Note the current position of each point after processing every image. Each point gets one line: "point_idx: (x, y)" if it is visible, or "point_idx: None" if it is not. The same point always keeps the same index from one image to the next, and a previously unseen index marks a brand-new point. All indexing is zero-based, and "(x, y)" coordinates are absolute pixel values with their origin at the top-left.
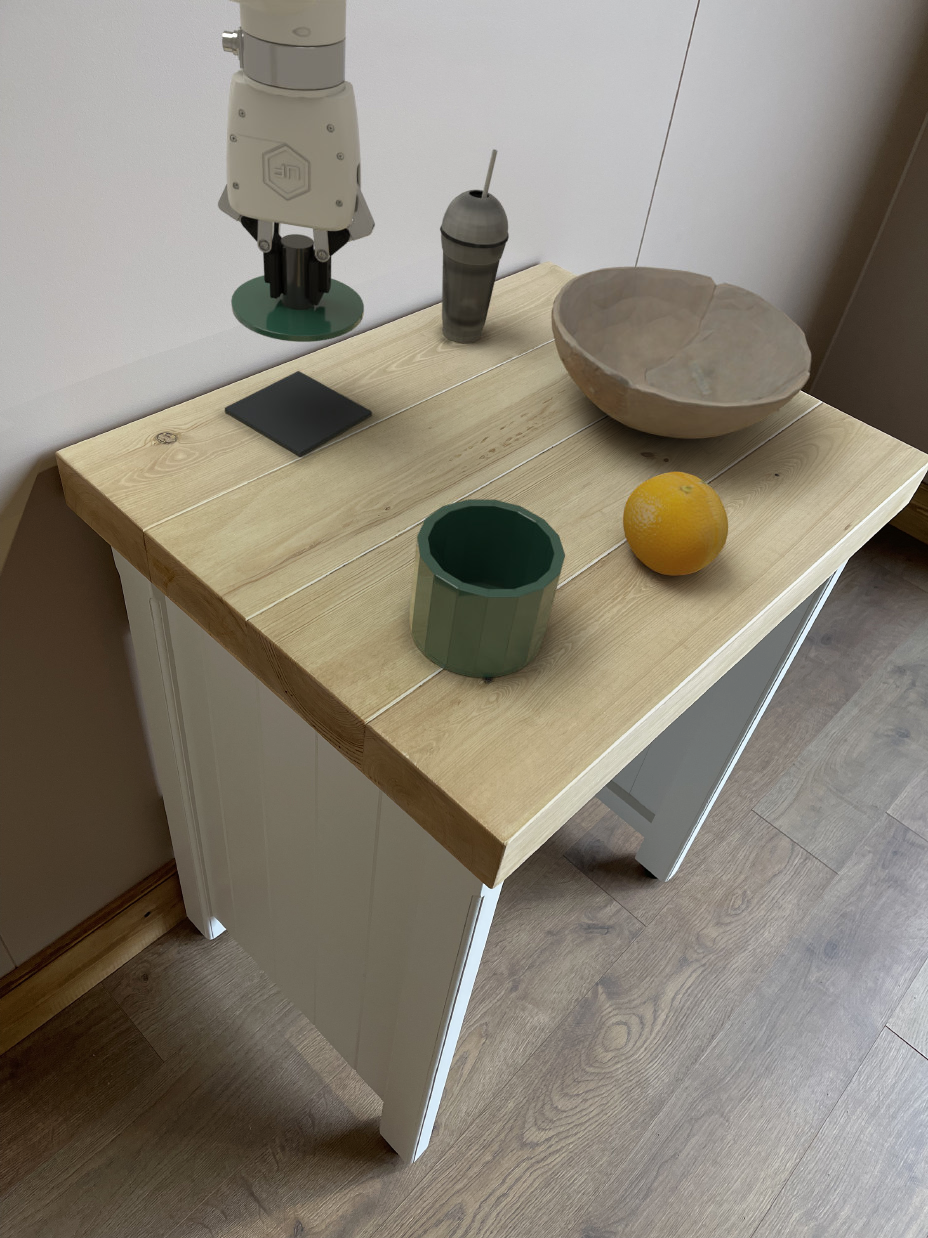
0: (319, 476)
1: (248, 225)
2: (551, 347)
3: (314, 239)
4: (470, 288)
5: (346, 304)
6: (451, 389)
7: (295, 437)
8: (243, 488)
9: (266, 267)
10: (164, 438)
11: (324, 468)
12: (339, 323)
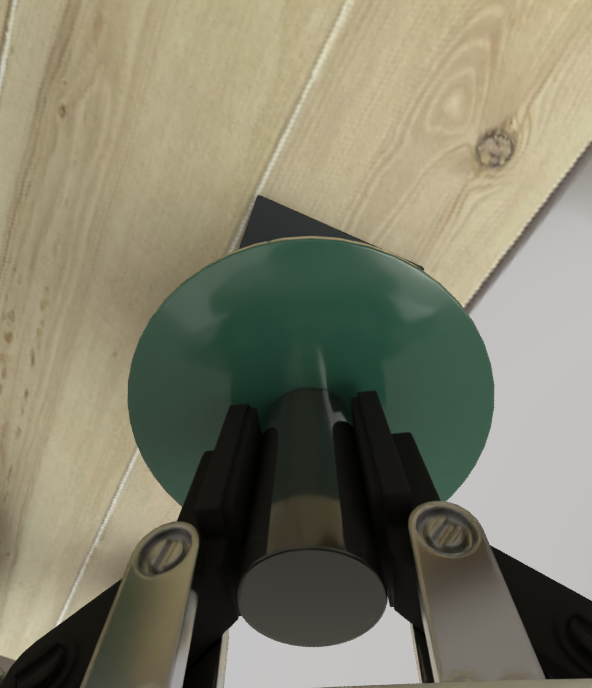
0: (206, 154)
1: (578, 618)
2: (68, 574)
3: (179, 619)
4: None
5: (191, 462)
6: (133, 451)
7: (282, 235)
8: (312, 53)
9: (414, 464)
10: (499, 146)
11: (209, 181)
12: (158, 370)
